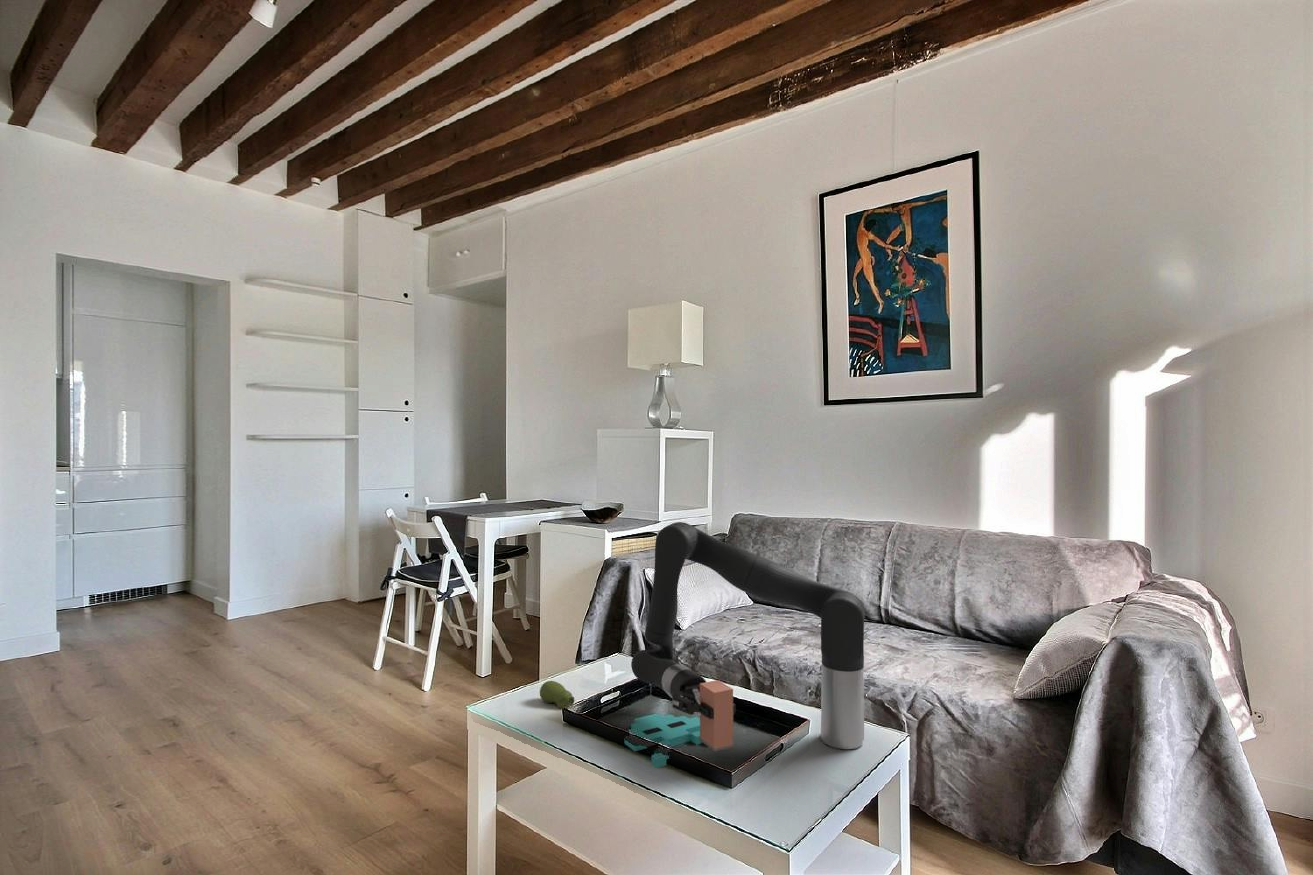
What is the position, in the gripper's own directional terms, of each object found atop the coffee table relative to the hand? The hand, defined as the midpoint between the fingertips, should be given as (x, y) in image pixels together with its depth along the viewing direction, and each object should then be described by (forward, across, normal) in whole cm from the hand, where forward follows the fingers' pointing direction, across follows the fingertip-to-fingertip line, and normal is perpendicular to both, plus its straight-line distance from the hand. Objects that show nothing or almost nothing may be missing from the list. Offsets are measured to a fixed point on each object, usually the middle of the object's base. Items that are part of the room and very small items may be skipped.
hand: (723, 711), depth 143 cm
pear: (-48, -20, +12) cm, 53 cm away
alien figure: (-18, -3, +12) cm, 22 cm away
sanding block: (-3, 0, +8) cm, 8 cm away
